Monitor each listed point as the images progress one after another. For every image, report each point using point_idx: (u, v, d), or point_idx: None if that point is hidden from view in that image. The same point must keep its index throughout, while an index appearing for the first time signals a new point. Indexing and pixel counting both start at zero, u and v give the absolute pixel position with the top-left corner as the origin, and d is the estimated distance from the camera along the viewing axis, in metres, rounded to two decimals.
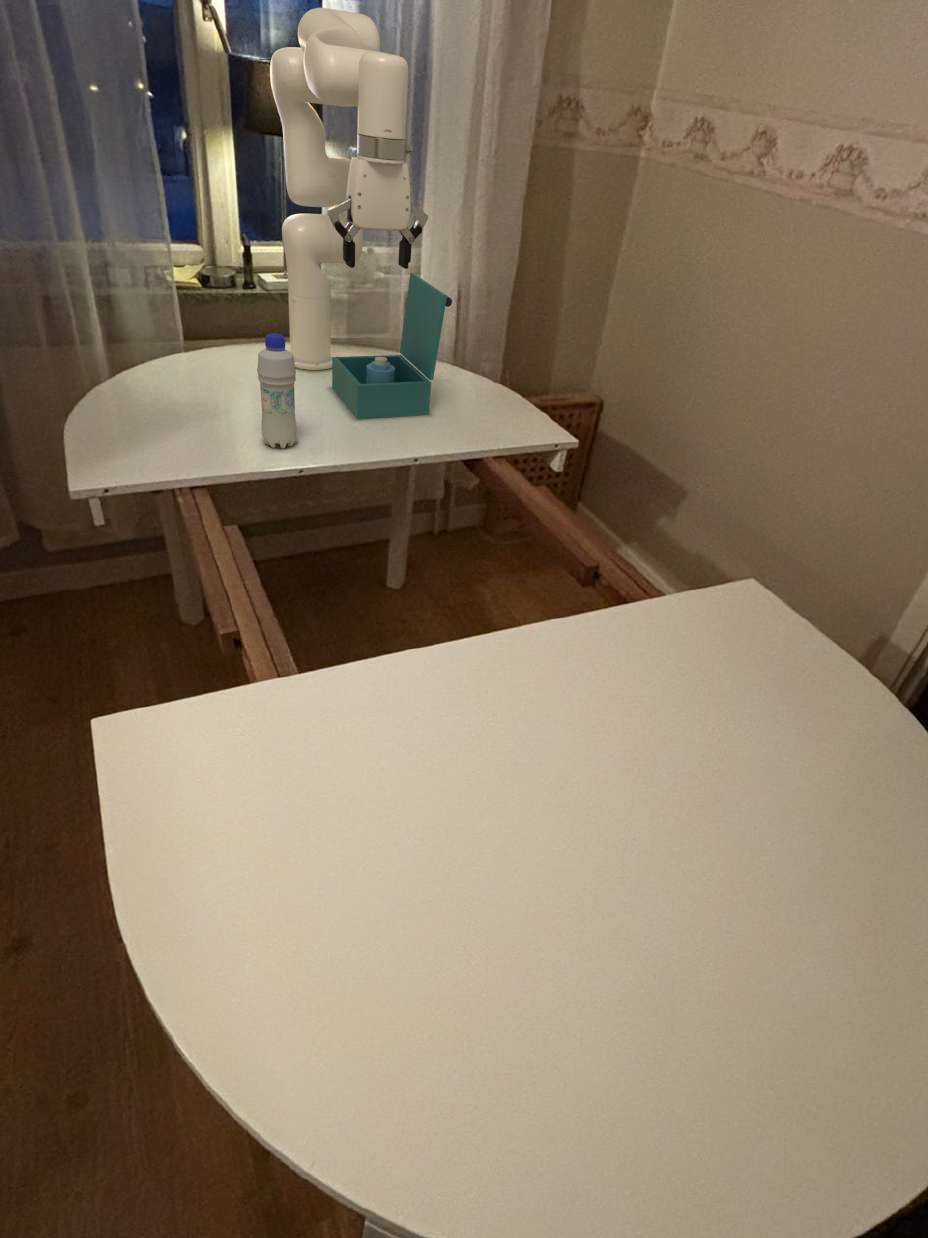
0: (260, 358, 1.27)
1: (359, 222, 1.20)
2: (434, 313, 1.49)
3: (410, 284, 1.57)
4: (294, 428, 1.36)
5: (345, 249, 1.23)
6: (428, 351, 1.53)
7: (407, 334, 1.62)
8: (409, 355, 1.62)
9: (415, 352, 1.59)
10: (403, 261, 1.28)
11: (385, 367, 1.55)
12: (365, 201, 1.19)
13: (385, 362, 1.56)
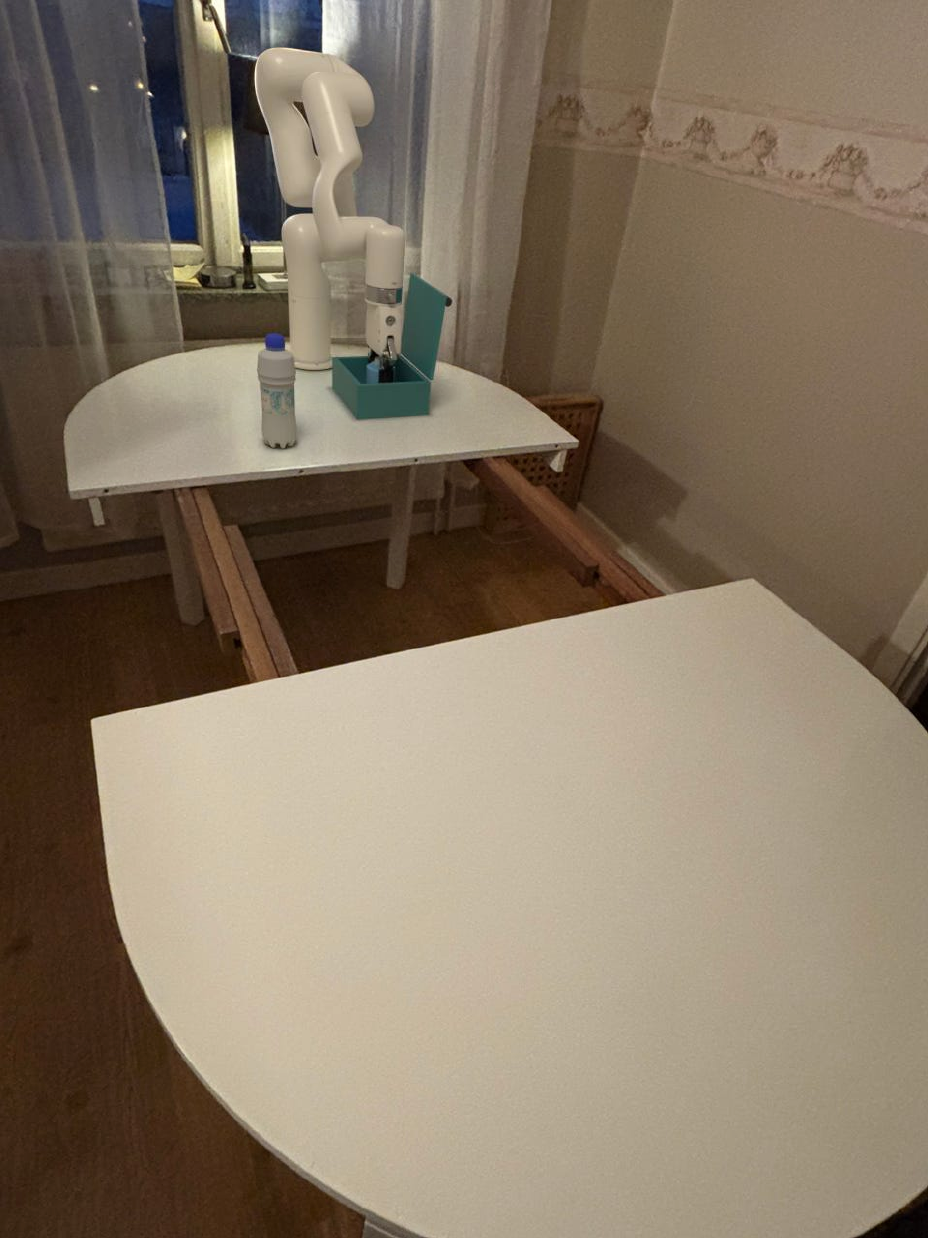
0: (260, 358, 1.27)
1: (366, 339, 1.56)
2: (434, 313, 1.49)
3: (410, 284, 1.57)
4: (294, 428, 1.36)
5: None
6: (428, 351, 1.53)
7: (407, 334, 1.62)
8: (409, 355, 1.62)
9: (415, 352, 1.59)
10: (380, 382, 1.56)
11: None
12: (366, 325, 1.54)
13: None
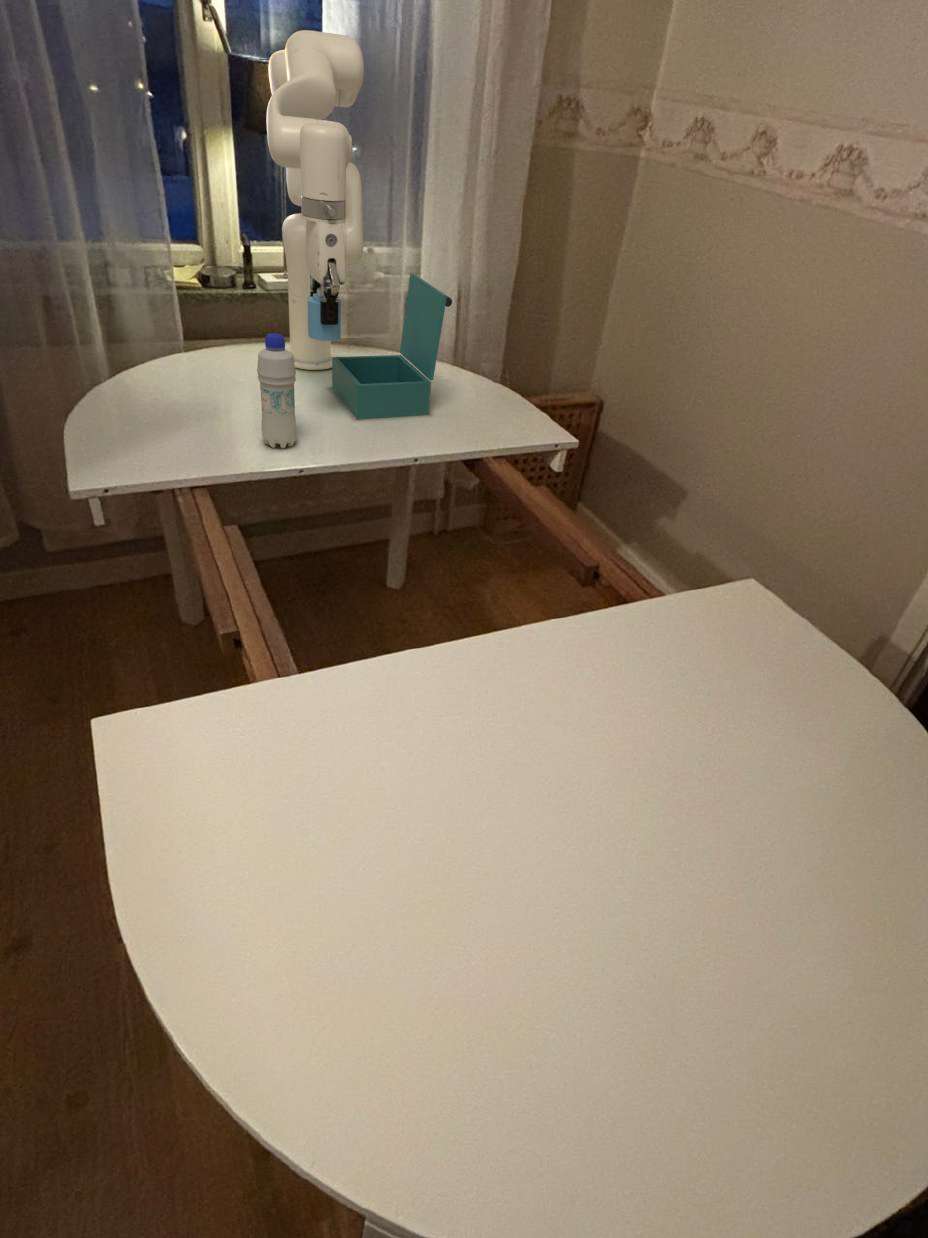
0: (260, 358, 1.27)
1: (306, 267, 1.35)
2: (434, 313, 1.49)
3: (410, 284, 1.57)
4: (294, 428, 1.36)
5: None
6: (428, 351, 1.53)
7: (407, 334, 1.62)
8: (409, 355, 1.62)
9: (415, 352, 1.59)
10: None
11: None
12: (306, 250, 1.32)
13: None
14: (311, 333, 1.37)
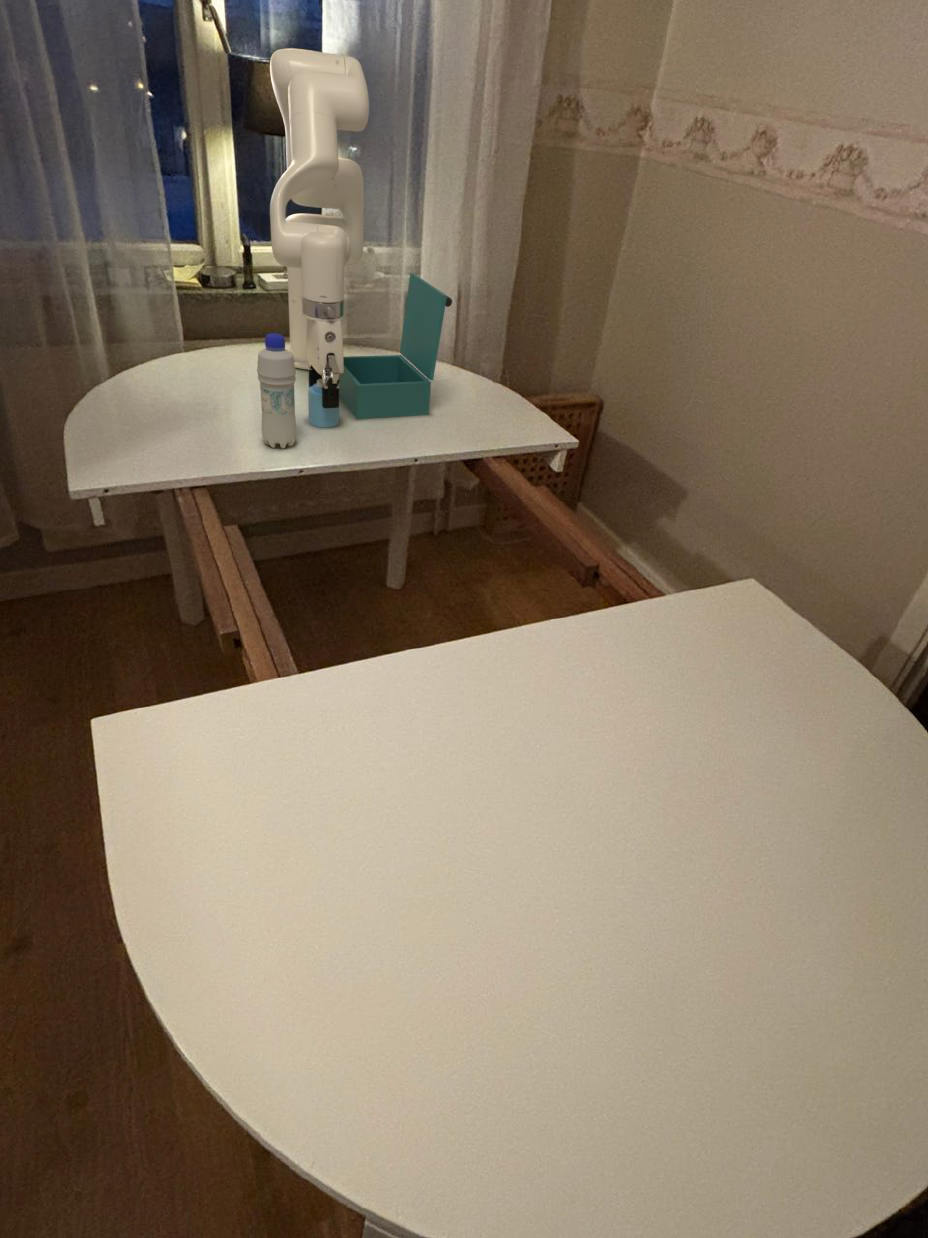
0: (260, 358, 1.27)
1: (307, 356, 1.44)
2: (434, 313, 1.49)
3: (410, 284, 1.57)
4: (294, 428, 1.36)
5: None
6: (428, 351, 1.53)
7: (407, 334, 1.62)
8: (409, 355, 1.62)
9: (415, 352, 1.59)
10: None
11: None
12: (307, 341, 1.42)
13: None
14: (312, 421, 1.47)
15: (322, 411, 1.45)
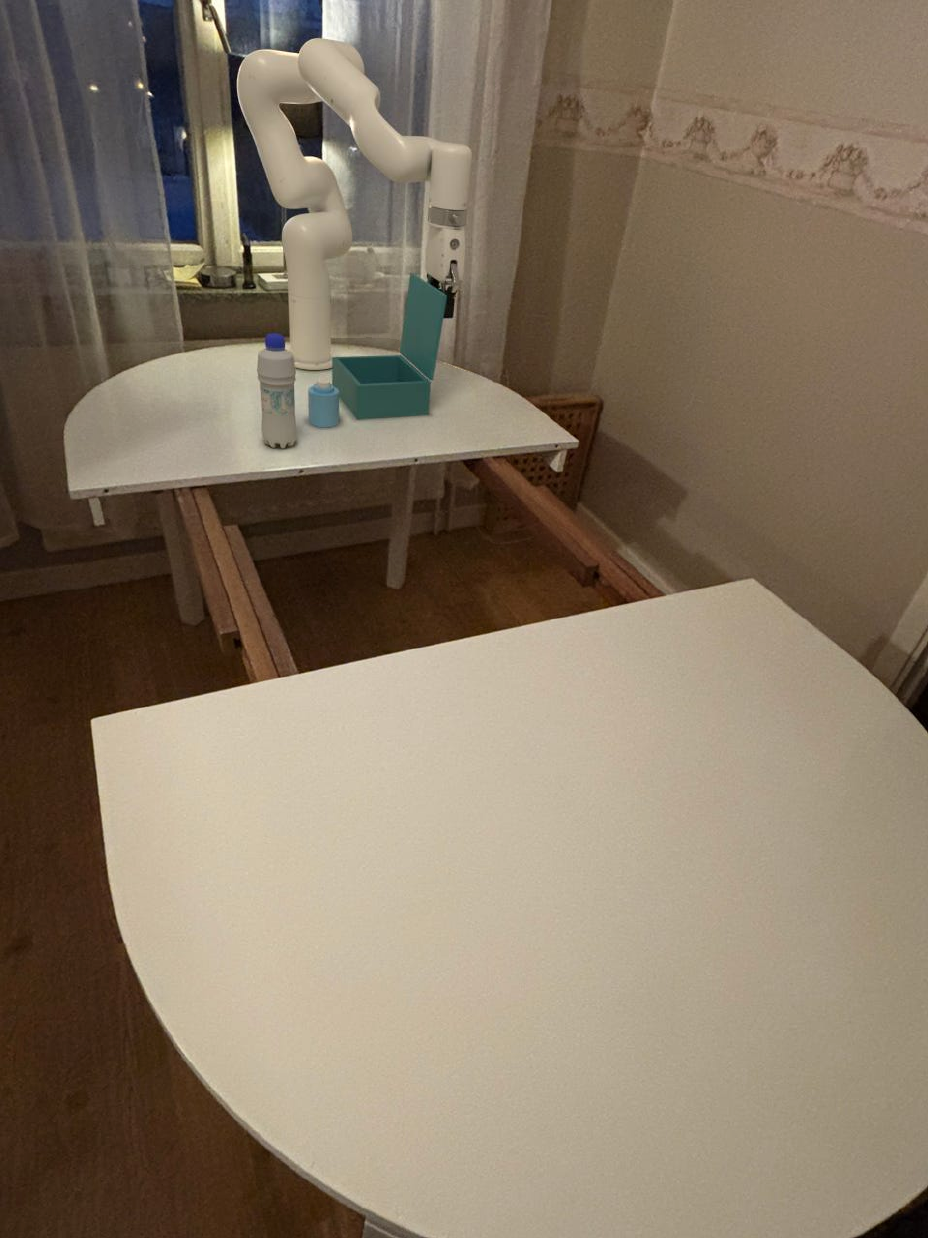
0: (260, 358, 1.27)
1: (425, 268, 1.53)
2: (434, 313, 1.49)
3: (410, 284, 1.57)
4: (294, 428, 1.36)
5: None
6: (428, 351, 1.53)
7: (407, 334, 1.62)
8: (409, 355, 1.62)
9: (415, 352, 1.59)
10: None
11: (328, 390, 1.44)
12: (427, 252, 1.50)
13: (328, 385, 1.44)
14: (312, 421, 1.47)
15: (322, 411, 1.45)
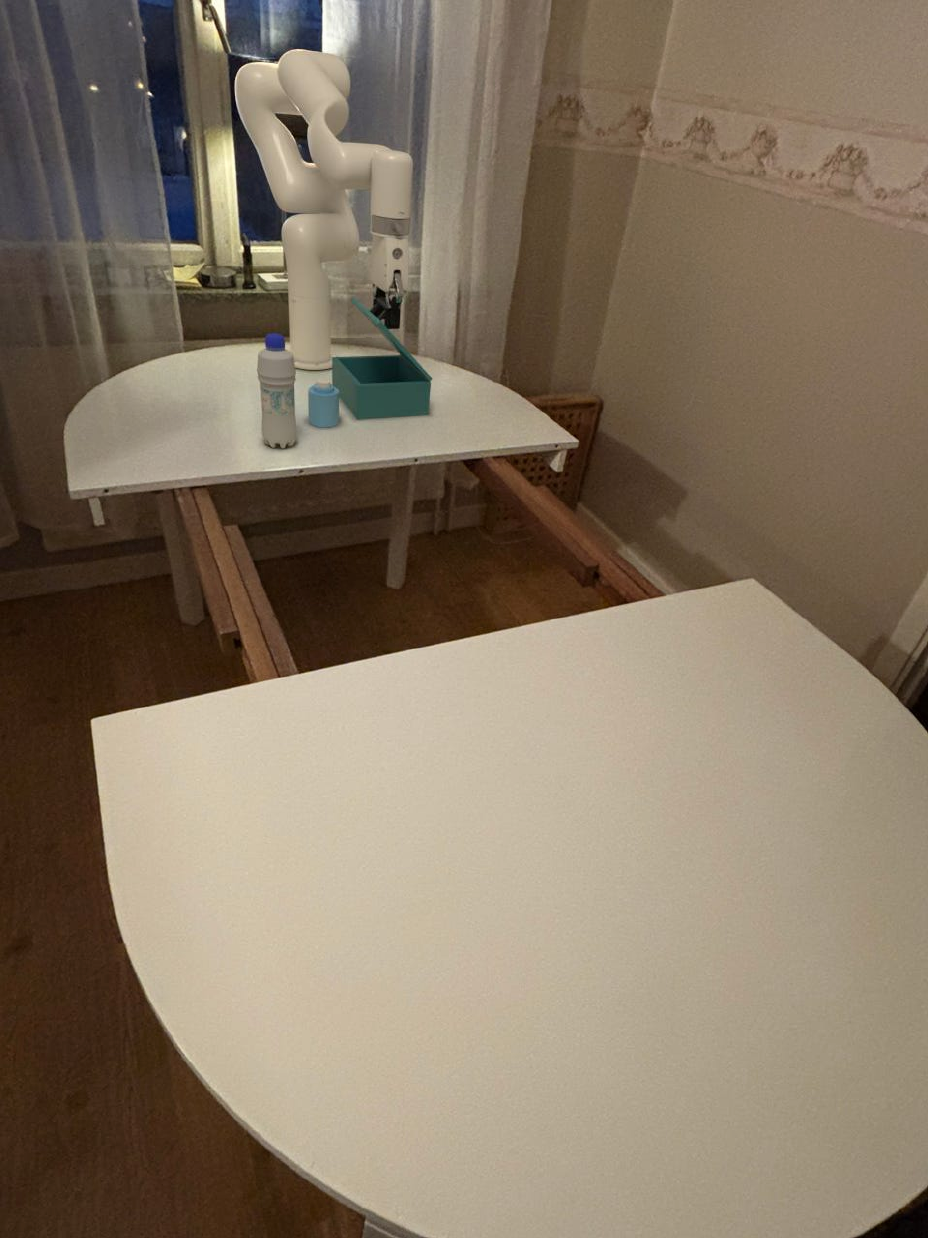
0: (260, 358, 1.27)
1: (371, 277, 1.49)
2: (386, 334, 1.47)
3: (357, 307, 1.56)
4: (294, 428, 1.36)
5: None
6: None
7: None
8: (405, 358, 1.62)
9: (405, 357, 1.59)
10: None
11: (328, 390, 1.44)
12: (372, 262, 1.47)
13: (328, 385, 1.44)
14: (312, 421, 1.47)
15: (322, 411, 1.45)
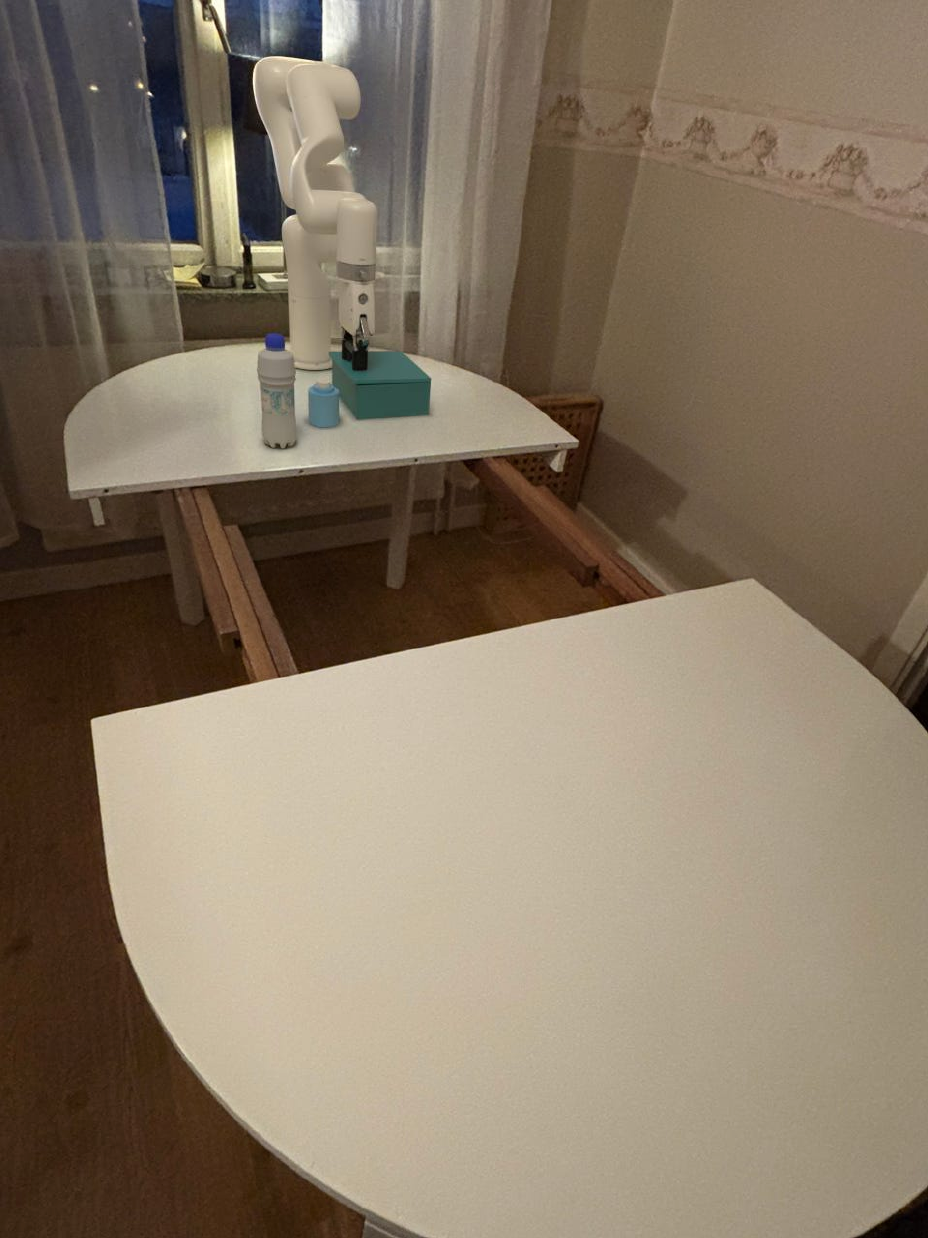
0: (260, 358, 1.27)
1: (339, 319, 1.52)
2: None
3: None
4: (294, 428, 1.36)
5: None
6: None
7: None
8: None
9: None
10: None
11: (328, 390, 1.44)
12: (339, 305, 1.49)
13: (328, 385, 1.44)
14: (312, 421, 1.47)
15: (322, 411, 1.45)
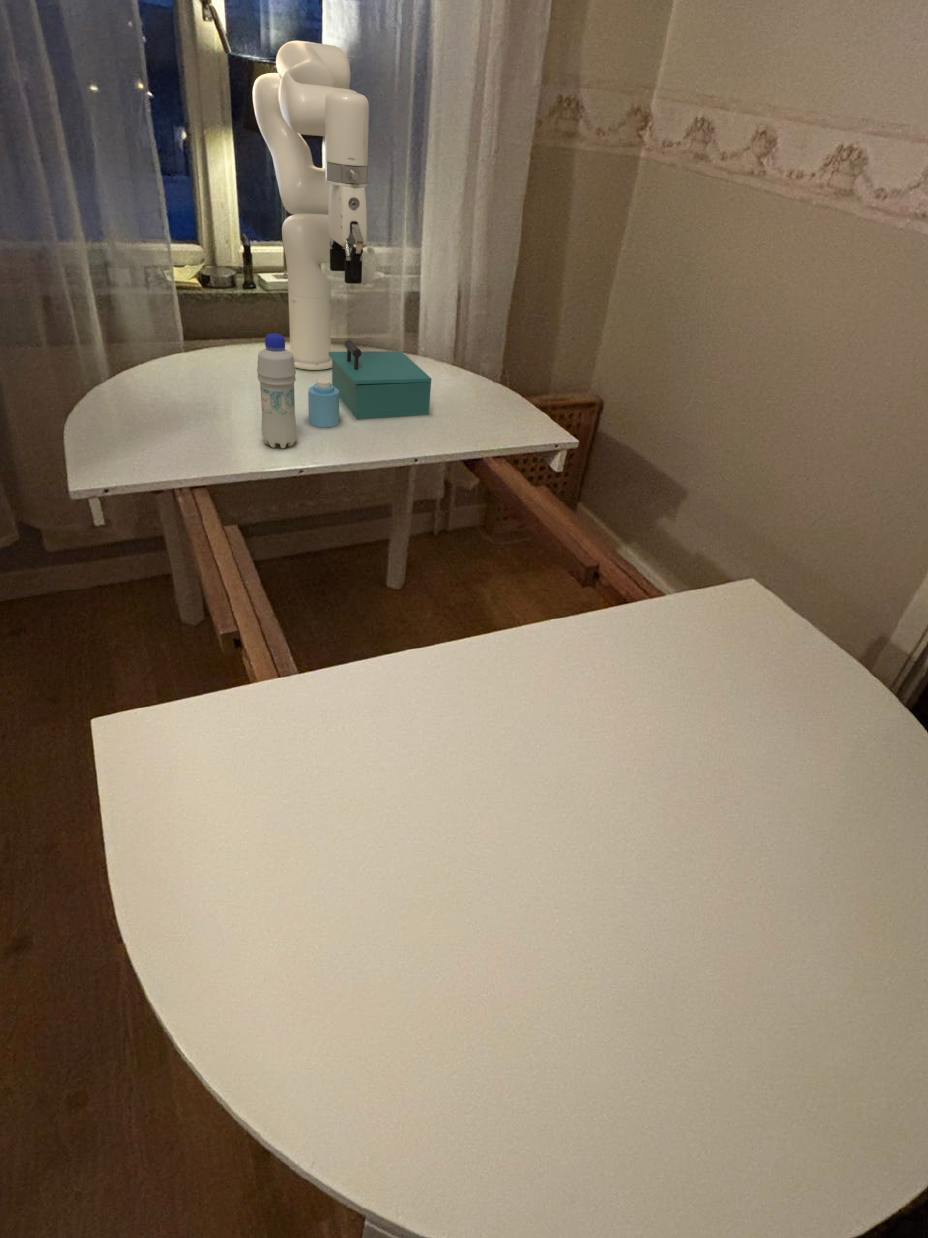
0: (260, 358, 1.27)
1: (329, 232, 1.41)
2: None
3: None
4: (294, 428, 1.36)
5: None
6: None
7: None
8: None
9: None
10: None
11: (328, 390, 1.44)
12: (329, 214, 1.39)
13: (328, 385, 1.44)
14: (312, 421, 1.47)
15: (322, 411, 1.45)
